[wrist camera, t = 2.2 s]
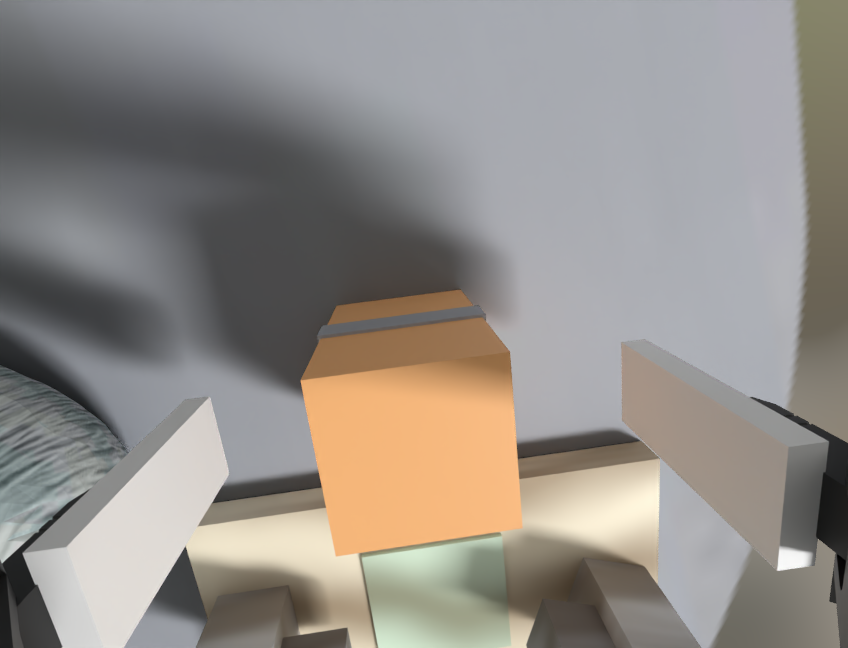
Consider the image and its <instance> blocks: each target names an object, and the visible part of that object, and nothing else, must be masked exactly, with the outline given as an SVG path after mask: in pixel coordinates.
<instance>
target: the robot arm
mask: <svg viewBox="0 0 848 648" xmlns="http://www.w3.org/2000/svg"><path fill="white" fill-rule="evenodd" d="M621 348H622V421H623V422H624V423H625V424H626V425H627V426H628V427H629V428H630V429H631V430H633V431H634V432H635V433H636V434H637V435H638V436H639V437H640V438H641V439H642V440H643V441H644V442H645V443H646V444H647V445H648V446H649V447H650V448H651V449H652V450H653V451H654V452H655V453H656V454H657V455H658V456H659V457H660V458H661V459H662V460H663V461H664V462H666V463H667V464H668V465H669V466H670V467H671V468H672V469H673V470H674V471H675V472H676V473H677V474H678V475H679V476H680V477H681V478H682V479H683V480H684V481H685V482H686V483H687V484H688V485H689V486H690V487H691V488H692V489H693V490H694V491H695V492H696V493H697V494H699V495H700V496H701V497H702V498H703V499H704V500H705V501H706V502H707V503H708V504H709V505H710V506H711V507H712V508H713V509H714V510H715V511H716V512H717V513H718V514H719V515H720V516H721V517H722V518H723V519H724V520H725V521H726V522H727V523H728V524H729V525H730V526H732V527H733V528H734V529H735V530H736V531H737V532H738V533H739V534H740V535H741V536H742V537H743V538H744V539H745V540H746V541H747V542H748V543H749V544H750V545H751V546H752V547H753V548H754V549H755V550H756V551H757V552H758V553H759V554H760V555H761V556H763V558H765V559H766V560H767V561H768V562H769V563H770V564H771V565H772V566H773V567H774V568H775V569H776V570H777V571H779V570H786V569H793V568H800V567H806V566H814V565H815V558H816V549H817V540H818V539H819V540H821V541H822V542H823V543H825V544H826V545H827V546H828V547H829V548H831V549H832V550H833V551H835V552H836V554H835V563H834V571H833V578H832V585H831V593H830V602H833V603H836V604H837V614H838V626H839V637H840V648H848V443H847V442H845V441H843V440H841V439H839V438H837V437H836V436H834V435H832V434H830V433H828V432H826V431H824V430H823V429H821V428H819V427H817V426H815V425H813V424H811V425H810V424H809V422H808V421H806V420H804V419H802V418H800V417H798V416H794V414H793V413H791V412H789V411H787V410H785V409H783V408H781V407H780V406H778V405H776V404H773V403H770V402H767V401H763V400H760V399H757V398H754V397H748V396H746V395H744V394H743V393H741V392H739V391H737V390H735V389H734V388H732V387H730V386H728V385H726V384H725V383H723V382H721V381H719V380H717V379H716V378H714V377H712V376H710V375H708V374H707V373H705V372H703V371H701V370H699V369H698V368H696V367H694V366H692V365H690V364H689V363H687V362H685V361H683V360H681V359H680V358H678V357H676V356H674V355H672V354H670V353H669V352H667V351H665V350H663V349H661V348H660V347H658V346H656V345H654V344H652V343H651V342H649V341H647V340H645V339H643V340H636V341H628V342H621ZM228 476H229V470H228V466H227V462H226V458H225V454H224V450H223V446H222V442H221V438H220V434H219V430H218V427H217V423H216V419H215V415H214V411H213V407H212V403H211V399H210V397H202V398H194V399H187V400H184V401H183V402H182V403H181V404H180V405H179V406H178V407H177V408H176V409H175V410H174V411H173V412H172V413H171V414H170V415H168V416H167V417H166V418H165V419H164V420H163V421H162V422H161V423H160V424H159V425H158V426H157V427H156V428H155V429H154V430H153V431H152V432H150V433H149V434H148V435H147V436H146V437H145V438H144V439H143V440H142V441H141V442H140V443H139V444H138V445H137V446H136V447H135V448H133V449H132V450H131V451H130V452H129V453H128V454H127V455H126V456H125V457H124V458H123V459H122V460H121V461H120V462H119V463H118V464H116V465H115V466H114V467H113V468H112V469H111V470H110V471H109V472H108V473H107V474H106V475H105V476H104V477H103V478H102V479H101V480H99V481H98V482H97V483H96V484H95V485H94V486H93V487H92V488H90V489H89V490H87V491H86V492H84V493H82V494H81V495H79V496H78V497H76V498H74V499H73V500H71V501H70V502H68V503H67V504H66V505H65V506H64V507H63V508H62V509H61V510H60V511H58V512H57V513H56V514H55V515H54V516H53V519H52V520H49V521H48V522H46V523H45V524H44V525H43V526H42V527H41V528H40V529H39V532H37V533H35V534H33V535H32V536H31V537H30V538H29V539H28V540H27V541H26V542H25V543H24V544H23V545H21V546H20V547H19V548H18V549H17V550H16V551H15V552H14V553H13V554H12V555H11V556H9V557H8V558H7V559H6V560H5V561H4V562H3V563H1V560H0V648H124V646H125V644H126V643H127V641H128V639H129V638H130V636H131V634H132V633H133V631H134V630H135V628H136V626H137V625H138V623H139V621H140V620H141V618H142V616H143V615H144V613H145V611H146V610H147V608H148V607H149V605H150V603H151V602H152V600H153V598H154V597H155V595H156V593H157V592H158V590H159V589H160V587H161V585H162V584H163V582H164V580H165V579H166V577H167V575H168V574H169V572H170V571H171V569H172V567H173V566H174V564H175V562H176V561H177V559H178V557H179V556H180V554H181V553H182V551H183V549H184V548H185V546H186V544H187V543H188V541H189V539H190V538H191V536H192V534H193V533H194V531H195V530H196V528H197V526H198V525H199V523H200V521H201V520H202V518H203V516H204V515H205V513H206V512H207V510H208V508H209V507H210V505H211V503H212V502H213V500H214V498H215V497H216V495H217V494H218V492H219V490H220V489H221V487H222V485H223V484H224V482H225V480H226V479H227V477H228Z"/></svg>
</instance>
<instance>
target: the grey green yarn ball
mask: <svg viewBox="0 0 848 648" xmlns="http://www.w3.org/2000/svg"><path fill="white" fill-rule="evenodd" d="M126 455H127V452H126V450H125V448H124V446H123V445H122V444H121V443H120V442H119V441H118V440H117V439H116V437H115V436H114V435H113V434H112V433H111V431H110V430H109V429H108V428H107V426H106V425H105V424H104V423H103V422H102V421H101V420H99V419H98V418H97V417H95V416H94V415H93V414H91V413H90V412H89V411H87V410H86V409H85V408H83V407H82V406H81V405H79V404H78V403H76V402H75V401H73V400H72V399H70V398H68V397H67V396H65V395H63V394H62V393H60V392H59V391H57V390H55V389H53V388H51V387H50V386H48V385H46V384H44V383H41V382H39V381H36V380H33V379H31V378H28V377H26V376H24V375H22V374H19V373H17V372H15V371H13V370H11V369H8V368H6V367H4V366H1V365H0V560H1V563H3V562H4V561H5V560H6V559H7V558H8V557H9V556H11V555H12V554H13V553H14V552H15V551H16V550H17V549H18V548H19V547H20V546H21V545H23V544H24V543H25V542H26V541H27V540H28V539H29V538H30V537H31V536H32V535H33V534H35V533H37V532H39V529H40V528H41V527H42V526H43V525H44V524H45V523H46V522H48V521H49V520H52V519H53V516H54V515H55V514H56V513H57V512H58V511H60V510H61V509H62V508H63V507H64V506H65V505H66V504H67V503H68V502H70V501H71V500H73V499H74V498H76V497H78V496H79V495H81V494H82V493H84V492H86V491H87V490H89V489H90V488H92V487H93V486H94V485H95V484H96V483H97V482H98V481H99V480H101V479H102V478H103V477H104V476H105V475H106V474H107V473H108V472H109V471H110V470H111V469H112V468H113V467H114V466H115V465H116V464H118V463H119V462H120V461H121V460H122V459H123V458H124V457H125V456H126Z"/></svg>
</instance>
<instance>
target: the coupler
mask: <svg viewBox="0 0 848 648" xmlns="http://www.w3.org/2000/svg"><path fill="white" fill-rule="evenodd" d="M317 340H318V345H317V347H316V349H315V351H314V353H313V355H312V358H311V360H310V362H309V364H308V366H307V368H306V370H305V372H304V374H303V376H302V378H301V380H300V381H301V386H302V391H303V396H304V401H305V406H306V411H307V416H308V421H309V426H310V431H311V436H312V441H313V445H314V450H315V455H316V460H317V465H318V470H319V475H320V480H321V485H322V490H323V495H324V500H325V505H326V510H327V515H328V520H329V525H330V530H331V535H332V540H333V545H334V550H335V555H336V556H343V555H349V554H356V553H362V552H369V551H376V550H382V549H389V548H395V547H402V546H409V545H415V544H422V543H429V542H435V541H442V540H448V539H455V538H462V537H468V536H475V535H481V534H488V533H495V532H501V531H508V530H514V529H521V528H523V526H522V512H521V498H520V484H519V470H518V457H517V443H516V429H515V415H514V401H513V387H512V374H511V360H510V351H509V350H508V349H507V348H506V346H505V345H504V344H503V343H502V341H501V340H500V339H499V337H498V336H497V335H496V334H495V332H494V331H493V330H492V329H491V327H490V326H489V325H488V324H487V322H486V314H485V313H484V311H483V310H482V309H481V308H480V307H479V305H476V306H473V304H472V303H471V302H470V301H469V299H468V298H467V297H466V296H465V294H464V293H463V292H462V291H461V289H460V290H452V291H445V292H437V293H429V294H422V295H414V296H406V297H399V298H391V299H383V300H376V301H368V302H360V303H353V304H345V305H337V306H336V308H335V310H334V312H333V314H332V316H331V318H330V320H329V322H328V324H327V325H324V326H322V327H321V329H320V331H319V333H318V335H317Z"/></svg>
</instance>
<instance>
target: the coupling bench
mask: <svg viewBox="0 0 848 648" xmlns="http://www.w3.org/2000/svg"><path fill="white" fill-rule="evenodd" d="M518 470H519V484H520V498H521V512H522V526H523V528H521V529H514V530H508V531H501V532H495V533H488V534H481V535H475V536H468V537H462V538H455V539H448V540H442V541H435V542H429V543H422V544H415V545H409V546H402V547H395V548H389V549H382V550H376V551H369V552H362V553H356V554H349V555H343V556H336V555H335V550H334V545H333V540H332V535H331V530H330V525H329V520H328V515H327V510H326V505H325V500H324V495H323V490H322V487H321V488H314V489H307V490H300V491H294V492H287V493H280V494H273V495H266V496H259V497H252V498H245V499H239V500H232V501H225V502H218V503H211V505H210V507H209V508H208V510H207V512H206V513H205V515H204V516H203V518H202V520H201V521H200V523H199V525H198V526H197V528H196V530H195V531H194V533H193V534H192V536H191V538H190V539H189V541H188V543H187V544H186V549H187V552H188V556H189V559H190V562H191V565H192V569H193V572H194V575H195V579H196V582H197V585H198V589H199V592H200V595H201V599H202V602H203V605H204V609H205V612H206V615H207V619H208V620H207V623H206V625H205V627H204V630H203V632H202V634H201V637H200V639H199V641H198V644H197V646H196V648H701V647H700V645H699V644H698V642H697V641H696V639H695V638H694V637H693V635H692V634H691V632H690V631H689V629H688V628H687V626H686V625H685V624H684V622H683V621H682V619H681V618H680V616H679V615H678V614H677V612H676V611H675V609H674V608H673V606H672V605H671V603H670V602H669V601H668V599H667V598H666V596H665V595H664V593H663V592H662V591H661V589H660V588H659V586H658V532H659V476H660V458H659V457H658V456H657V455H655V454H654V453H653V452H652V451H651V450H650V449H649V448H648V447H647V446H646V445H645V444H644V443H643V442H642V441H638V442H631V443H624V444H617V445H610V446H603V447H597V448H590V449H583V450H576V451H569V452H562V453H555V454H548V455H542V456H535V457H528V458H521V459H518Z"/></svg>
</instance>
